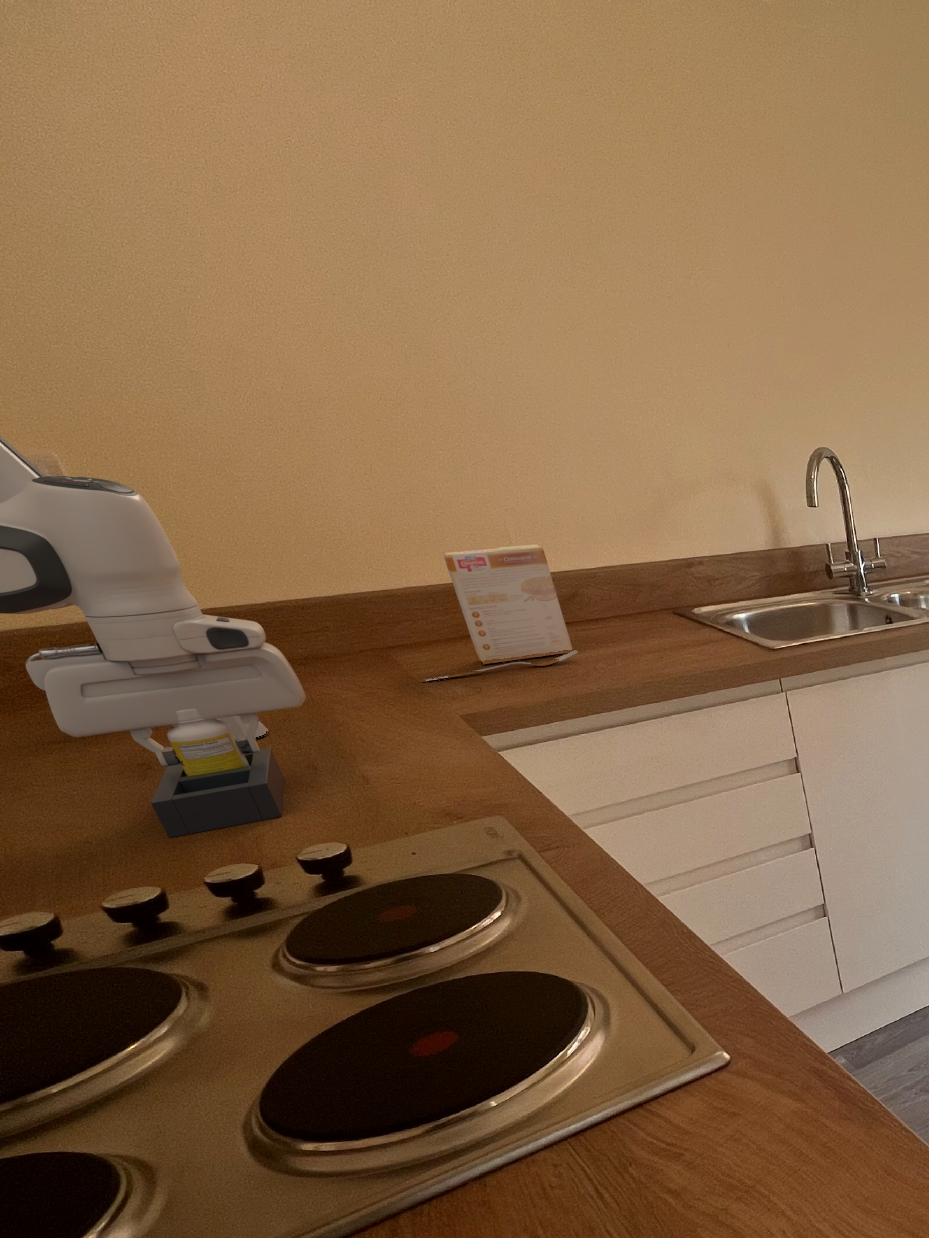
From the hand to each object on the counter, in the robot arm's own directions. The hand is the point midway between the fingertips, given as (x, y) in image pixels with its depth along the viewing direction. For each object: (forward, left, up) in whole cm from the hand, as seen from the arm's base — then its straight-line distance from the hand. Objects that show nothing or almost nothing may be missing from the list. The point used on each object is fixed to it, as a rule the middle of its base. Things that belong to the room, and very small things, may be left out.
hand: (212, 758), depth 110 cm
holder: (0, -4, -5) cm, 6 cm away
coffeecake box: (+39, +66, -5) cm, 77 cm away
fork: (+34, +55, -5) cm, 65 cm away
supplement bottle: (0, 0, -4) cm, 4 cm away
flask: (-1, +32, -5) cm, 32 cm away
